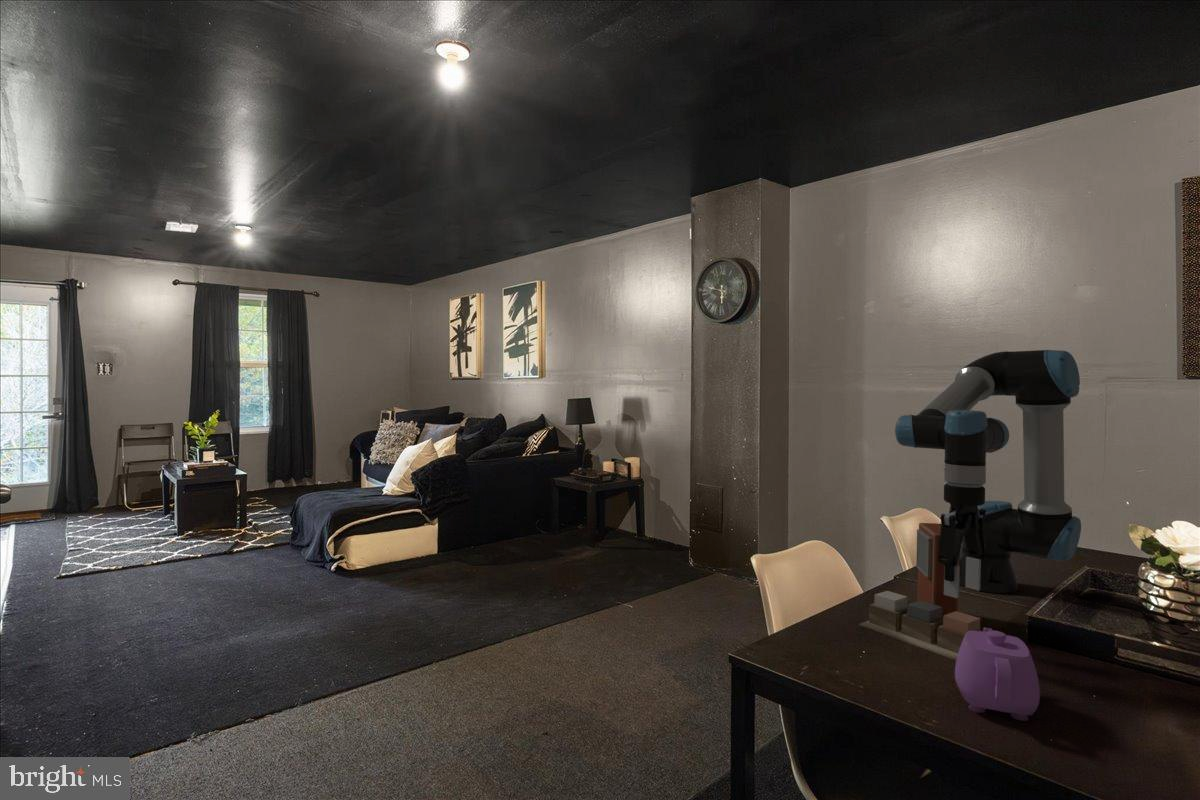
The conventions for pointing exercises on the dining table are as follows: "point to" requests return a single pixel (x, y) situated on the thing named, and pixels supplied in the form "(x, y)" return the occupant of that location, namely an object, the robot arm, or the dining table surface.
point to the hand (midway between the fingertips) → (962, 592)
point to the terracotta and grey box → (932, 569)
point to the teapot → (997, 674)
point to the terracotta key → (961, 622)
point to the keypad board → (915, 631)
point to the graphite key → (924, 611)
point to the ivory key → (890, 601)
